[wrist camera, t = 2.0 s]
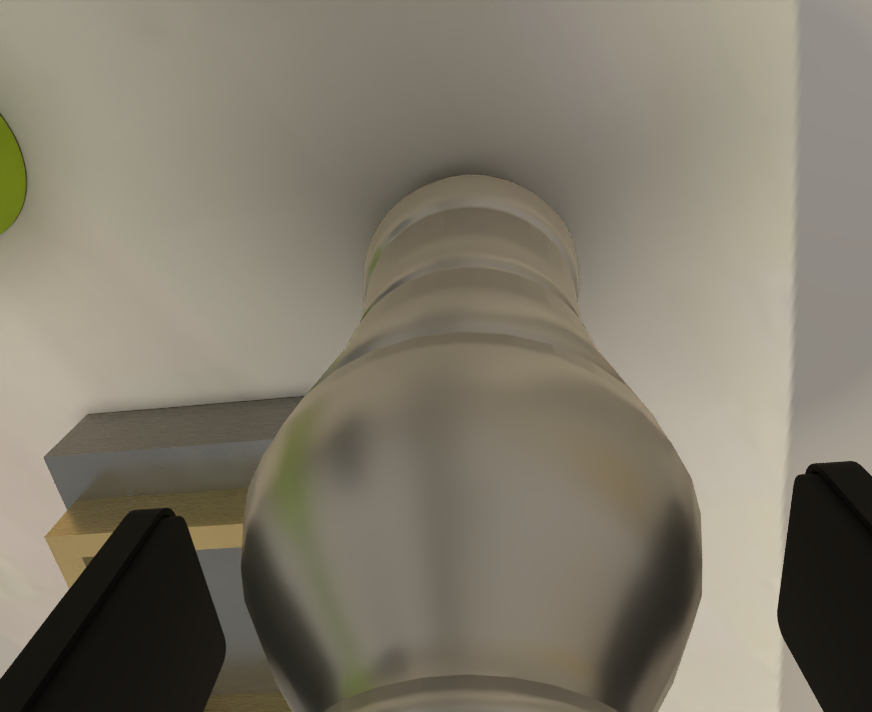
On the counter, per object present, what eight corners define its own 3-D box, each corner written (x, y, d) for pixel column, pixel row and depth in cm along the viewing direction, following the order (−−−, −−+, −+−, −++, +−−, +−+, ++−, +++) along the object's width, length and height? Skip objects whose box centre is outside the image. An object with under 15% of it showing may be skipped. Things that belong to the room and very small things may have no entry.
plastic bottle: (563, 336, 24) (872, 1239, 6) (381, 342, 24) (139, 1203, 6) (569, 155, 21) (1199, 807, 3) (364, 166, 21) (-170, 795, 3)
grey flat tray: (86, 415, 26) (8, 491, 22) (378, 390, 25) (359, 465, 21) (195, 684, 33) (152, 784, 28) (428, 673, 32) (422, 776, 27)
